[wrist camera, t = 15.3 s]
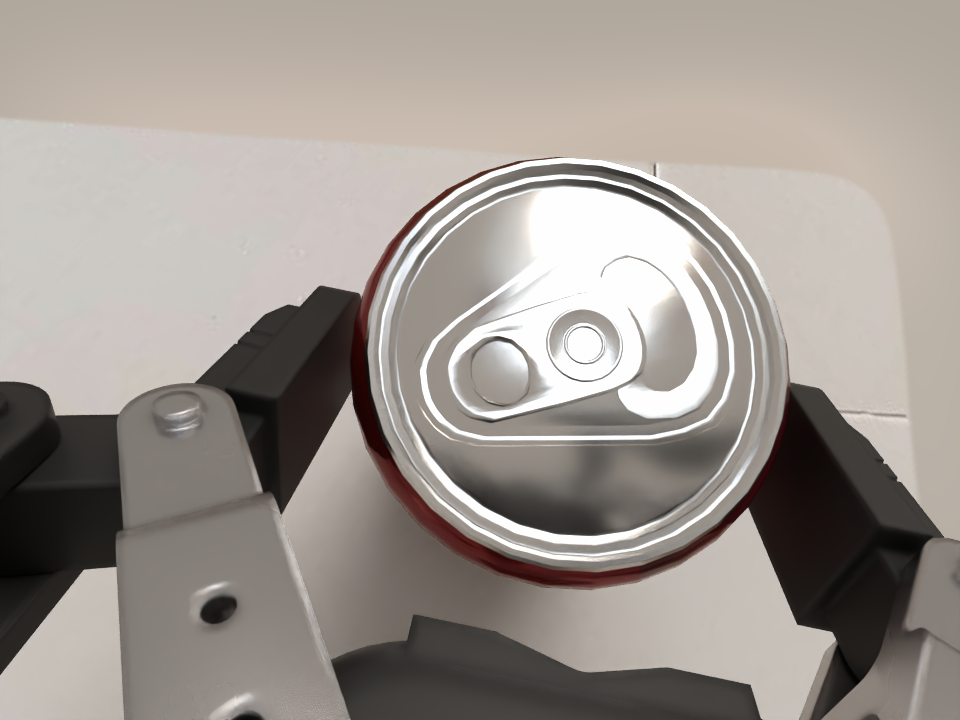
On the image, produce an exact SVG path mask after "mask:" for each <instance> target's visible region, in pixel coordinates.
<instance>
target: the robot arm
mask: <svg viewBox="0 0 960 720" xmlns="http://www.w3.org/2000/svg"><path fill="white" fill-rule="evenodd" d="M360 302H361V296H360V294H359V293H355V292H350V291H346V290H341V289H336V288H331V287H326V286H319V287H318V288H317V289H316V290H315V291H314V292H313V293H312V294H311V295H310V296H309V297H308V298H307V299H306V301H305V302H304V303H303V304H302V305H301V306H300V307H298V306H293V305H286V306H283V307H281V308H279V309H277V310H274V311H272V312H270V313H267V314H265V315H264V316H263V317H262V318H261V319H260V320H259V321H258V322H257V323H256V324H255V325H254V326H253V327H252V328H251V329H250V332H246V333H245V334H244V335H243V336H242V337H241V338H240V339H239V340H238V344H234V345H233V346H232V347H231V348H230V349H229V350H228V351H227V352H226V353H225V354H224V355H223V356H222V357H221V358H220V359H219V360H218V361H217V362H216V363H215V364H214V365H213V366H212V367H210V368H209V369H208V370H207V371H206V372H205V373H204V374H203V375H202V376H201V377H200V378H199V379H198V380H197V381H196V382H195V383H182V384H173V385H168V386H163V387H160V388H156V389H153V390H151V391H148V392H145V393H143V394H142V395H140V396H138V397H136V398H135V399H133V400H132V401H130V402H129V403H128V404H127V405H126V406H125V407H124V408H123V409H122V411H121V412H120V414H117V415H61V416H55V413H54V410H53V406H52V403H51V400H50V398H49V395H48V394H47V393H46V392H45V391H44V390H42V389H41V388H39V387H37V386H34V385H31V384H27V383H21V382H0V675H1V673H2V672H3V671H4V670H5V668H6V667H7V666H8V665H9V663H10V662H11V661H12V659H13V658H14V657H15V656H16V654H17V653H18V652H19V651H20V649H21V648H22V647H23V646H24V644H25V643H26V642H27V641H28V639H29V638H30V637H31V636H32V634H33V633H34V632H35V631H36V629H37V628H38V627H39V625H40V624H41V623H42V622H43V620H44V619H45V618H46V617H47V615H48V614H49V613H50V612H51V610H52V609H53V608H54V607H55V605H56V604H57V603H58V602H59V600H60V599H61V598H62V596H63V595H64V594H65V593H66V591H67V590H68V589H69V588H70V586H71V585H72V584H73V583H74V581H75V580H76V579H77V578H78V576H79V575H80V574H81V573H82V571H83V570H84V569H96V568H108V567H117V584H118V604H119V624H120V644H121V664H122V684H123V704H124V720H762V719H761V718H760V715H759V711H758V708H757V705H756V701H755V698H754V695H753V692H752V688H751V685H748V684H743V683H739V682H734V681H729V680H724V679H720V678H715V677H710V676H705V675H701V674H696V673H691V672H686V671H681V670H677V669H672V668H653V669H638V670H623V671H608V672H593V673H588V672H581V671H578V670H575V669H573V668H571V667H569V666H566V665H564V664H562V663H560V662H558V661H556V660H554V659H552V658H550V657H548V656H546V655H544V654H541V653H539V652H537V651H535V650H533V649H531V648H529V647H527V646H525V645H523V644H521V643H519V642H516V641H514V640H512V639H510V638H508V637H506V636H504V635H502V634H500V633H498V632H495V631H491V630H486V629H481V628H476V627H472V626H467V625H462V624H457V623H453V622H448V621H443V620H438V619H433V618H429V617H424V616H419V615H414V614H413V617H412V622H411V626H410V630H409V634H408V638H407V641H395V642H386V643H381V644H376V645H371V646H367V647H363V648H360V649H357V650H354V651H351V652H348V653H345V654H343V655H341V656H339V657H337V658H335V659H332V660H330V657H329V655H328V652H327V649H326V646H325V643H324V640H323V637H322V634H321V631H320V628H319V625H318V622H317V619H316V616H315V614H314V611H313V608H312V605H311V602H310V599H309V596H308V593H307V590H306V587H305V584H304V581H303V578H302V575H301V573H300V570H299V567H298V564H297V561H296V558H295V555H294V552H293V549H292V546H291V543H290V540H289V537H288V534H287V532H286V529H285V526H284V523H283V520H282V517H281V515H282V513H283V511H284V509H285V508H286V506H287V504H288V502H289V501H290V499H291V497H292V495H293V493H294V492H295V490H296V488H297V486H298V485H299V483H300V481H301V479H302V477H303V476H304V474H305V472H306V470H307V469H308V467H309V465H310V463H311V461H312V460H313V458H314V456H315V454H316V453H317V451H318V449H319V447H320V445H321V444H322V442H323V440H324V438H325V437H326V435H327V433H328V431H329V429H330V428H331V426H332V424H333V422H334V421H335V419H336V417H337V415H338V413H339V412H340V410H341V408H342V406H343V405H344V403H345V401H346V399H347V397H348V396H349V394H350V392H351V390H352V385H351V374H350V354H351V345H352V336H353V328H354V320H355V317H356V314H357V311H358V308H359V305H360ZM883 461H884V460H883V458H882V457H881V456H880V455H879V453H878V452H877V451H876V449H875V448H874V447H873V446H872V444H871V443H870V442H869V441H868V439H867V438H865V437H864V436H863V435H862V434H860V433H859V432H858V431H857V430H855V429H854V428H853V427H852V426H850V425H849V424H848V423H847V422H846V421H845V419H844V418H843V417H842V415H841V414H840V413H839V412H838V410H837V409H836V408H835V406H834V405H833V404H832V402H831V401H830V400H829V398H828V397H827V396H826V395H825V393H824V392H823V391H822V390H821V389H819V388H815V387H810V386H805V385H800V384H795V383H791V382H790V393H789V401H788V409H787V418H786V426H785V431H784V434H783V436H782V439H781V442H780V445H779V448H778V451H777V454H776V457H775V460H774V463H773V466H772V469H771V470H770V472H769V474H768V475H767V477H766V479H765V480H764V482H763V484H762V485H761V487H760V489H759V490H758V492H757V494H756V495H755V497H754V499H753V500H752V502H751V504H750V505H749V507H748V508H749V510H750V513H751V515H752V517H753V520H754V522H755V525H756V527H757V529H758V532H759V534H760V537H761V539H762V541H763V544H764V546H765V549H766V551H767V553H768V556H769V558H770V560H771V563H772V565H773V568H774V570H775V572H776V575H777V577H778V580H779V582H780V584H781V587H782V589H783V592H784V594H785V596H786V599H787V601H788V604H789V606H790V608H791V611H792V613H793V616H794V618H795V620H796V623H797V625H801V626H806V627H811V628H816V629H821V630H825V631H830V632H833V634H834V636H835V638H836V641H835V642H834V643H833V644H832V645H831V646H830V647H829V648H828V649H827V650H826V652H825V654H824V656H823V658H822V661H821V663H820V666H819V669H818V671H817V674H816V676H815V679H814V682H813V684H812V687H811V690H810V692H809V695H808V697H807V700H806V703H805V705H804V708H803V710H802V713H801V716H800V718H799V720H960V541H958V540H953V539H950V538H944V536H943V535H942V534H941V532H940V531H939V530H938V529H937V527H936V526H935V525H934V524H933V522H932V521H931V520H930V519H929V517H928V516H927V515H926V513H925V512H924V511H923V509H922V508H921V507H920V506H919V504H918V503H917V502H916V501H915V499H914V498H913V497H912V495H911V494H910V493H909V492H908V490H907V489H906V488H905V486H904V485H903V484H902V483H901V482H897V476H896V475H895V474H894V472H893V471H892V470H891V469H890V467H889V466H888V465H887V464H883Z"/></svg>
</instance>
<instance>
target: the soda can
mask: <svg viewBox="0 0 960 720" xmlns="http://www.w3.org/2000/svg"><path fill="white" fill-rule="evenodd" d="M350 374H351V385H352V396H353V406H354V409H355V413H356V416H357V419H358V423H359V426H360V429H361V433H362V436H363V439H364V443H365V446H366V449H367V451H368V453H369V454H370V456H371V458H372V460H373V462H374V464H375V466H376V467H377V469H378V471H379V473H380V475H381V477H382V479H383V480H384V482H385V484H386V486H387V488H388V489H389V490H390V492H391V493H392V494H393V495H394V496H395V498H396V499H397V500H398V501H399V502H400V504H401V505H402V506H403V507H404V508H405V510H406V511H407V512H408V513H409V514H410V516H411V517H412V518H413V519H414V520H415V522H416V523H417V524H418V525H419V526H421V527H422V528H423V529H424V530H426V531H427V532H428V533H429V534H431V535H432V536H433V537H434V538H436V539H437V540H438V541H439V542H441V543H442V544H443V545H445V546H446V547H447V548H448V549H450V550H451V551H452V552H453V553H455V554H456V555H458V556H460V557H462V558H464V559H466V560H468V561H470V562H472V563H474V564H476V565H478V566H480V567H482V568H484V569H486V570H488V571H490V572H492V573H494V574H496V575H499V576H502V577H506V578H510V579H513V580H517V581H521V582H525V583H528V584H532V585H536V586H539V587H544V588H562V589H580V590H593V589H600V588H606V587H612V586H618V585H625V584H631V583H637V582H639V581H642V580H644V579H647V578H649V577H652V576H654V575H657V574H659V573H662V572H665V571H667V570H670V569H672V568H675V567H677V566H679V565H681V564H682V563H684V562H685V561H687V560H688V559H690V558H691V557H693V556H694V555H696V554H697V553H699V552H700V551H702V550H703V549H705V548H706V547H708V546H709V545H711V544H712V543H714V542H715V541H716V540H717V539H718V538H719V537H720V536H721V535H722V534H723V533H724V532H725V531H726V530H727V529H728V528H729V527H730V526H731V525H732V523H733V522H734V521H735V520H736V519H737V518H738V517H739V516H740V515H741V514H742V513H743V512H744V511H745V510H746V509H747V508H748V507H749V505H750V504H751V502H752V500H753V499H754V497H755V495H756V494H757V492H758V490H759V489H760V487H761V485H762V484H763V482H764V480H765V479H766V477H767V475H768V474H769V472H770V470H771V469H772V466H773V463H774V460H775V457H776V454H777V451H778V448H779V445H780V442H781V439H782V436H783V434H784V431H785V426H786V418H787V409H788V401H789V393H790V377H789V364H788V351H787V343H786V340H785V336H784V333H783V329H782V325H781V322H780V318H779V314H778V311H777V307H776V304H775V301H774V299H773V297H772V295H771V293H770V291H769V289H768V287H767V285H766V283H765V281H764V279H763V277H762V275H761V273H760V271H759V268H758V266H757V265H756V264H755V262H754V261H753V259H752V258H751V257H750V255H749V254H748V253H747V251H746V250H745V249H744V247H743V246H742V244H741V243H740V242H739V240H738V239H737V238H736V236H735V235H734V234H733V233H732V232H731V231H730V230H729V229H728V228H727V227H726V226H725V225H724V224H723V223H722V222H721V221H720V220H719V219H717V218H716V217H715V216H714V215H713V214H712V213H711V212H710V211H709V210H708V209H707V208H706V207H705V206H703V205H702V204H700V203H699V202H697V201H696V200H694V199H693V198H691V197H690V196H688V195H687V194H685V193H684V192H682V191H681V190H679V189H678V188H676V187H675V186H673V185H671V184H669V183H667V182H664V181H662V180H660V179H658V178H655V177H653V176H651V175H649V174H646V173H644V172H642V171H640V170H637V169H633V168H629V167H625V166H621V165H617V164H613V163H609V162H605V161H601V160H590V159H577V158H563V157H554V158H544V159H534V160H525V161H517V162H514V163H510V164H507V165H504V166H500V167H497V168H493V169H490V170H486V171H483V172H480V173H478V174H476V175H474V176H472V177H470V178H468V179H466V180H464V181H462V182H460V183H458V184H457V185H455V186H453V187H451V188H449V189H447V190H445V191H444V192H443V193H441V194H440V195H439V196H438V197H436V198H435V199H434V200H432V201H431V202H430V203H428V204H427V205H426V206H425V207H423V208H422V209H421V210H419V211H418V212H417V213H416V214H415V215H414V216H413V217H412V218H411V219H410V220H409V222H408V223H407V224H406V225H405V226H404V227H403V228H402V230H401V231H400V232H399V233H398V234H397V235H396V236H395V238H394V239H393V240H392V241H391V242H390V243H389V245H388V246H387V247H386V249H385V251H384V253H383V254H382V256H381V258H380V260H379V261H378V263H377V265H376V267H375V268H374V270H373V272H372V274H371V276H370V277H369V279H368V281H367V283H366V286H365V289H364V293H363V296H362V299H361V302H360V305H359V308H358V311H357V314H356V317H355V320H354V328H353V336H352V345H351V354H350Z"/></svg>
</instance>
